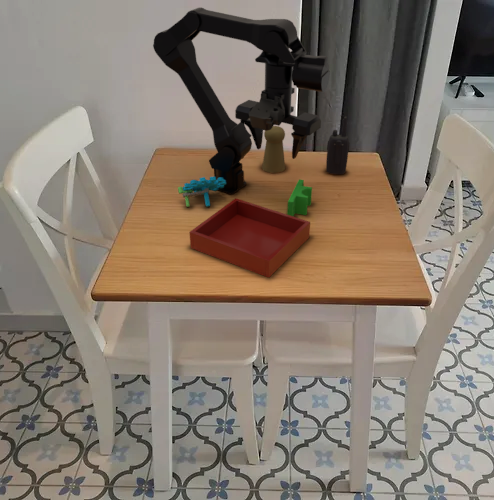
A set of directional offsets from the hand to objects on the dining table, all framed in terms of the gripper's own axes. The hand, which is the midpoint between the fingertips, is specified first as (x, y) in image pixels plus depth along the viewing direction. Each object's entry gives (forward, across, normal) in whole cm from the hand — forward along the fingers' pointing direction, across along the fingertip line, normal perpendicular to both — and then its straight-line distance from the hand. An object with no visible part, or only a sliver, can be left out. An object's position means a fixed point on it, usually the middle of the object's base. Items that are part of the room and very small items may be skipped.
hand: (276, 153), depth 124 cm
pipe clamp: (+11, +8, -2) cm, 14 cm away
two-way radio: (+11, +7, +19) cm, 23 cm away
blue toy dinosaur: (+11, -13, -11) cm, 20 cm away
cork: (+11, -8, +13) cm, 19 cm away
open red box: (+11, +6, -20) cm, 24 cm away
